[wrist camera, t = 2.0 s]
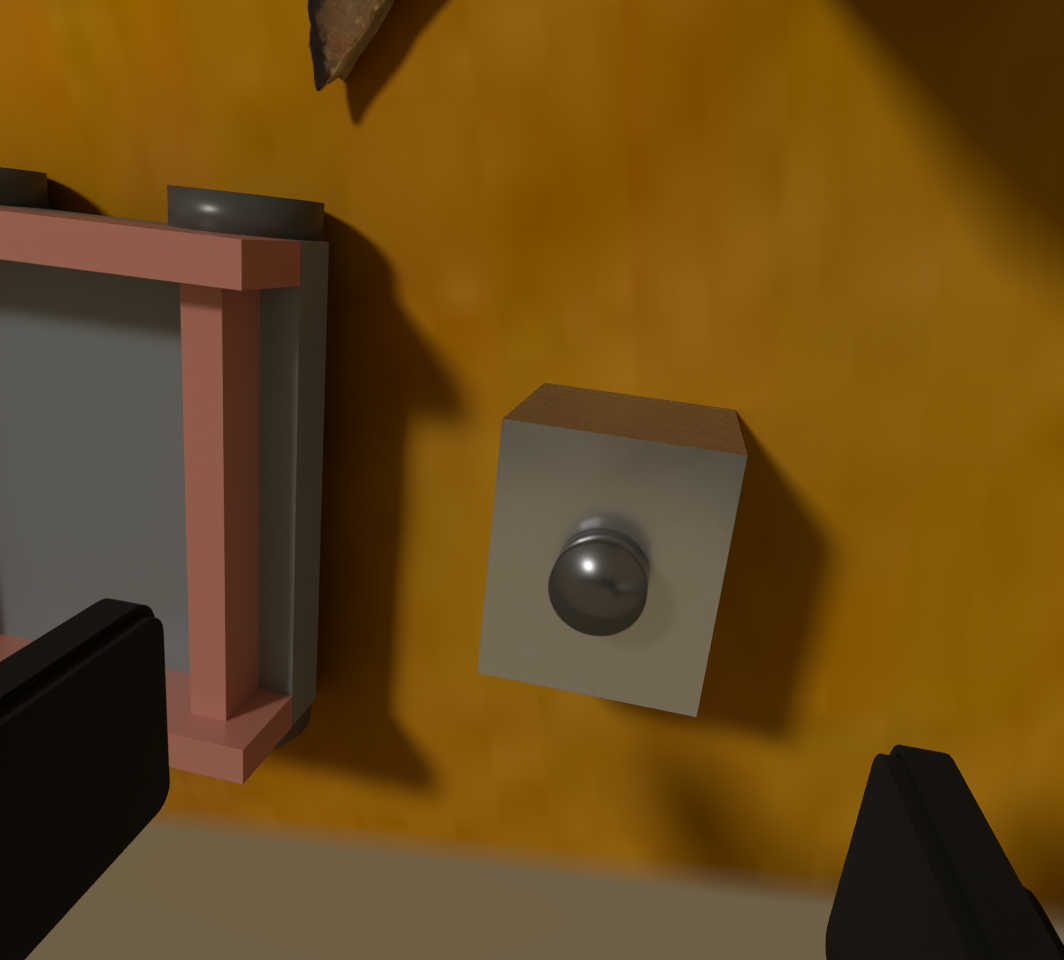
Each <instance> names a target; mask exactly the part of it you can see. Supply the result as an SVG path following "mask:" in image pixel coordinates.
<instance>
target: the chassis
mask: <svg viewBox="0 0 1064 960" xmlns="http://www.w3.org/2000/svg"><path fill="white" fill-rule="evenodd" d="M167 197H168V223H161V222H153V221H144V220H135V219H127V218H118V217H110V216H101V215H93V214H84V213H76V212H67V211H59V210H50V209H49V201H48V187H47V173H41V172H34V171H26V170H18V169H9V168H1V167H0V661H2V660H4V659H5V658H7V657H8V656H10V655H12V654H13V653H15V652H17V651H18V650H20V649H21V648H23V647H25V646H26V645H28V644H30V643H31V642H33V641H34V640H36V639H38V638H39V637H41V636H42V635H44V634H46V633H47V632H49V631H51V630H52V629H54V628H55V627H57V626H59V625H60V624H62V623H64V622H65V621H67V620H68V619H70V618H72V617H73V616H75V615H77V614H78V613H80V612H81V611H83V610H85V609H86V608H88V607H89V606H91V605H93V604H94V603H96V602H98V601H100V600H102V599H105V598H109V599H116V600H121V601H127V602H132V603H138V604H143V605H147V606H148V607H150V608H151V609H152V611H153V613H154V616H155V618H158V619H159V620H161V622H162V624H163V629H164V650H165V675H166V701H167V726H168V751H169V767H171V768H176V769H180V770H184V771H188V772H193V773H197V774H201V775H205V776H209V777H214V778H218V779H222V780H226V781H231V782H235V783H239V784H244V783H245V781H246V780H247V779H248V778H249V777H250V776H251V774H252V773H253V772H254V771H255V770H256V768H257V767H258V766H259V765H260V764H261V763H262V761H263V760H264V759H265V758H266V757H267V756H268V754H269V753H270V752H271V751H272V750H273V748H276V747H279V746H281V745H283V744H285V743H287V742H289V741H290V740H292V739H294V738H295V737H296V736H298V735H299V734H300V733H301V732H302V731H303V730H304V729H305V727H306V726H307V724H308V722H309V720H310V716H311V704H312V703H313V701H314V700H315V699H316V679H317V645H318V610H319V575H320V540H321V505H322V471H323V436H324V401H325V366H326V331H327V297H328V262H329V242H323V234H324V203H318V202H311V201H303V200H295V199H287V198H279V197H270V196H262V195H253V194H245V193H236V192H227V191H218V190H209V189H200V188H190V187H181V186H170V185H167Z"/></svg>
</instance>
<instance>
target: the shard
mask: <svg viewBox="0 0 1064 960" xmlns="http://www.w3.org/2000/svg"><path fill="white" fill-rule="evenodd" d="M394 1H395V0H308V14H309V20H310V29H309V44H308V47H309V50H310V54H311V59H312V64H313V71H314V81H315V87H316V90H317V91H321V90H322V89H323V88H324V87H325V86H326V85H327V84H329V83H331V82H333V81H334V80H335V79H337V78H338V77H339V78H340V79H341V80H343V81H345V79H346V78H347V77H348V75H349V74H350V72H351V71H352V69H353V67H354V65H355V63H356V61H357V60H358V58H359V57H360V55H361V54H362V53H363V51H364V50H365V49H366V47H367V45H368V43H369V42H370V40H371V39H372V38H373V37H374V36H375V34H376V33H377V31H378V29H379V27H380V26H381V24H382V23H383V21H384V19H385V18H386V16H387V14H388V12H389V10H390V8H391V7H392V5H393V3H394Z"/></svg>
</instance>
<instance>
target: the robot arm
mask: <svg viewBox="0 0 1064 960" xmlns="http://www.w3.org/2000/svg"><path fill="white" fill-rule="evenodd" d="M169 784H170V777H169V751H168V726H167V701H166V675H165V650H164V629H163V624H162V622H161V620H159V619H158V618H155V616H154V613H153V611H152V609H151V608H150V607H148V606H147V605H143V604H138V603H132V602H127V601H121V600H116V599H109V598H105V599H102V600H100V601H98V602H96V603H94V604H93V605H91V606H89V607H88V608H86V609H85V610H83V611H81V612H80V613H78V614H77V615H75V616H73V617H72V618H70V619H68V620H67V621H65V622H64V623H62V624H60V625H59V626H57V627H55V628H54V629H52V630H51V631H49V632H47V633H46V634H44V635H42V636H41V637H39V638H38V639H36V640H34V641H33V642H31V643H30V644H28V645H26V646H25V647H23V648H21V649H20V650H18V651H17V652H15V653H13V654H12V655H10V656H8V657H7V658H5V659H4V660H2V661H0V960H25V959H26V958H27V956H28V955H29V954H30V953H31V952H32V951H33V950H34V949H35V948H36V947H37V945H38V944H39V943H40V942H41V941H42V940H43V939H44V938H45V937H46V935H47V934H48V933H49V932H50V931H51V930H52V929H53V928H54V927H55V925H56V924H57V923H58V922H59V921H60V920H61V919H62V918H63V917H64V916H65V915H66V914H67V912H68V911H69V910H70V909H71V908H72V907H73V906H74V905H75V904H76V902H77V901H78V900H79V899H80V898H81V897H82V896H83V895H84V894H85V893H86V891H87V890H88V889H89V888H90V887H91V886H92V885H93V884H94V883H95V882H96V880H97V879H98V878H99V877H100V876H101V875H102V874H103V873H104V872H105V871H106V869H107V868H108V867H109V866H110V865H111V864H112V863H113V862H114V860H116V858H117V857H118V856H119V855H120V854H121V853H122V852H123V851H124V850H125V848H126V847H127V846H128V845H129V844H130V843H131V842H132V841H133V840H134V839H135V837H136V836H137V835H138V834H139V833H140V832H141V831H142V830H143V829H144V828H145V827H146V825H147V824H148V823H149V822H150V821H151V820H152V819H153V818H154V817H155V816H156V814H157V813H158V812H159V811H160V809H161V808H162V806H163V804H164V802H165V800H166V797H167V795H168V791H169ZM826 958H827V960H1064V945H1063V943H1062V942H1061V940H1060V938H1059V936H1058V935H1057V933H1056V931H1055V929H1054V927H1053V926H1052V924H1051V922H1050V920H1049V918H1048V917H1047V915H1046V913H1045V911H1044V910H1043V908H1042V906H1041V904H1040V903H1039V901H1038V900H1037V899H1036V897H1035V896H1034V895H1033V893H1032V892H1031V891H1029V890H1028V889H1026V888H1025V887H1023V886H1022V884H1021V882H1020V880H1019V878H1018V877H1017V875H1016V873H1015V871H1014V869H1013V868H1012V866H1011V864H1010V862H1009V860H1008V858H1007V857H1006V855H1005V853H1004V851H1003V849H1002V848H1001V846H1000V844H999V842H998V840H997V838H996V837H995V835H994V833H993V831H992V829H991V827H990V826H989V824H988V822H987V820H986V818H985V817H984V815H983V813H982V811H981V809H980V807H979V806H978V804H977V802H976V800H975V798H974V796H973V795H972V793H971V791H970V789H969V787H968V786H967V784H966V782H965V780H964V778H963V776H962V775H961V773H960V771H959V769H958V767H957V766H956V764H955V762H954V760H953V759H952V758H951V756H950V755H948V754H946V753H942V752H936V751H931V750H925V749H920V748H915V747H909V746H904V745H896V746H894V748H893V749H892V751H891V753H890V755H885V754H878V755H877V756H876V757H875V758H874V761H873V764H872V767H871V771H870V774H869V778H868V781H867V785H866V789H865V792H864V796H863V799H862V803H861V807H860V810H859V814H858V817H857V821H856V825H855V828H854V832H853V835H852V839H851V842H850V846H849V850H848V853H847V857H846V860H845V864H844V868H843V871H842V875H841V878H840V882H839V886H838V889H837V893H836V896H835V900H834V904H833V907H832V911H831V914H830V919H829V922H828V926H827V932H826Z"/></svg>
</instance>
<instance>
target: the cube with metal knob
mask: <svg viewBox="0 0 1064 960" xmlns="http://www.w3.org/2000/svg"><path fill="white" fill-rule="evenodd" d="M747 456H748V455H747V451H746V448H745V444H744V440H743V437H742V433H741V429H740V426H739V422H738V418H737V414H736V411H735V410H734V409H727V408H720V407H713V406H705V405H698V404H691V403H684V402H677V401H670V400H663V399H656V398H649V397H642V396H635V395H628V394H621V393H614V392H607V391H600V390H593V389H586V388H579V387H572V386H565V385H558V384H551V383H544V384H542V385H541V386H540V387H539V388H538V389H537V390H535V391H534V392H533V393H532V394H531V395H530V396H528V397H527V398H526V399H525V400H524V401H523V402H521V403H520V404H519V405H518V406H517V407H516V408H514V409H513V410H512V411H511V412H510V413H509V414H507V415H506V416H505V417H504V418H503V419H502V428H501V438H500V448H499V459H498V469H497V479H496V489H495V499H494V509H493V519H492V529H491V539H490V550H489V560H488V570H487V580H486V590H485V600H484V610H483V620H482V630H481V641H480V651H479V661H478V671H477V673H481V674H486V675H491V676H496V677H501V678H506V679H511V680H516V681H521V682H526V683H531V684H536V685H540V686H545V687H550V688H555V689H560V690H565V691H570V692H575V693H580V694H585V695H590V696H595V697H600V698H605V699H609V700H614V701H619V702H624V703H629V704H634V705H639V706H644V707H649V708H654V709H659V710H664V711H669V712H674V713H678V714H683V715H688V716H693V717H697V712H698V707H699V702H700V697H701V692H702V687H703V681H704V676H705V671H706V666H707V661H708V656H709V651H710V646H711V641H712V635H713V630H714V625H715V620H716V615H717V610H718V605H719V600H720V594H721V589H722V584H723V579H724V574H725V569H726V564H727V559H728V554H729V548H730V543H731V538H732V533H733V528H734V523H735V518H736V513H737V508H738V502H739V497H740V492H741V487H742V482H743V477H744V472H745V467H746V461H747Z"/></svg>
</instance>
